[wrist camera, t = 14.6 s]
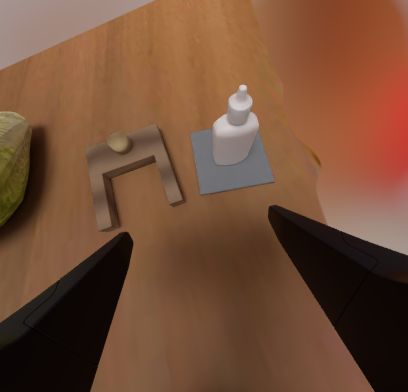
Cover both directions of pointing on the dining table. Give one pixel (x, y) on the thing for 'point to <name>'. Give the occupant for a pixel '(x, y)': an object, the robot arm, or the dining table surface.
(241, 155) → the eye dropper bottle
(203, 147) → the slate mat
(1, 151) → the lettuce
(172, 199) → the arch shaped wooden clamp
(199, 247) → the dining table surface
